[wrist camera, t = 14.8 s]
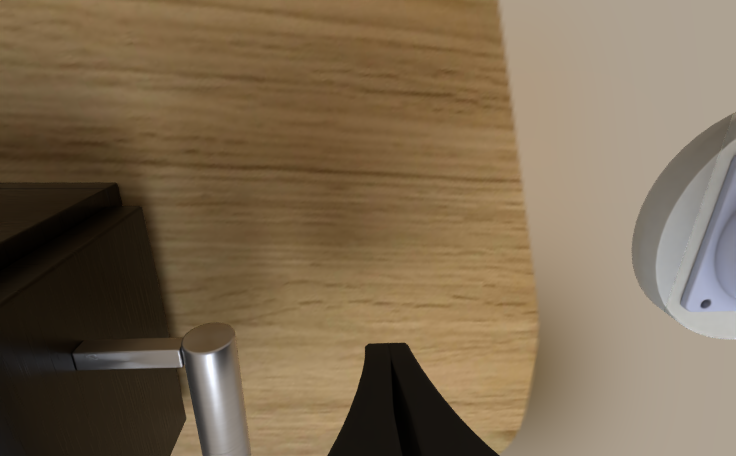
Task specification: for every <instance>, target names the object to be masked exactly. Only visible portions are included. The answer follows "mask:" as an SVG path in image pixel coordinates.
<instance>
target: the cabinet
mask: <svg viewBox="0 0 736 456" xmlns="http://www.w3.org/2000/svg"><path fill="white" fill-rule="evenodd" d="M109 206H122V201H121V197H120V193H119V188H118V184H117V183H0V271H1V270H3V269H5V268H7V267H8V266H10V265H12V264H13V263H15V262H17V261H18V260H20V259H22V258H23V257H25V256H27V255H28V254H30V253H32V252H33V251H35V250H37V249H38V248H40V247H42V246H43V245H45V244H47V243H48V242H50V241H52V240H53V239H55V238H57V237H59V236H60V235H62V234H64V233H65V232H67V231H69V230H70V229H72V228H74V227H75V226H77V225H79V224H80V223H82V222H84V221H85V220H87V219H89V218H90V217H92V216H94V215H95V214H97V213H99V212H100V211H102V210H104V209H105V208H107V207H109Z"/></svg>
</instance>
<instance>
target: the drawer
mask: <svg viewBox="0 0 736 456" xmlns="http://www.w3.org/2000/svg"><path fill="white" fill-rule="evenodd" d="M184 364H185V368H186V373H187V379H188V384H189V389H190V394H191V399H192V404H193V409H194V414H195V419H196V424H197V429H198V434H199V439H200V444H201V450H202V455H203V456H251V449H250V442H249V434H248V426H247V419H246V411H245V404H244V396H243V389H242V381H241V373H240V366H239V358H238V351H237V343H236V336H235V331H234V329H233V328H232V327H231V326H230V325H228V324H225V323H208V324H204V325H200V326H198V327H196V328H194V329H192V330H190V331H189V332H188V333H187V334H186V335H185V336H184V337H178V338H169V333H168V328H167V324H166V319H165V314H164V309H163V304H162V300H161V295H160V290H159V285H158V280H157V276H156V271H155V266H154V261H153V256H152V252H151V247H150V242H149V237H148V232H147V228H146V223H145V218H144V213H143V209H142V207H141V206H109V207H107V208H105V209H104V210H102V211H100V212H99V213H97V214H95V215H94V216H92V217H90V218H89V219H87V220H85V221H84V222H82V223H80V224H79V225H77V226H75V227H74V228H72V229H70V230H69V231H67V232H65V233H64V234H62V235H60V236H59V237H57V238H55V239H53V240H52V241H50V242H48V243H47V244H45V245H43V246H42V247H40V248H38V249H37V250H35V251H33V252H32V253H30V254H28V255H27V256H25V257H23V258H22V259H20V260H18V261H17V262H15V263H13V264H12V265H10V266H8V267H7V268H5V269H3V270H1V271H0V456H170V455H171V453H172V450H173V448H174V446H175V444H176V441H177V439H178V437H179V434H180V432H181V430H182V428H183V425H184V423H185V421H186V415H185V410H184V405H183V400H182V395H181V391H180V386H179V381H178V376H177V371H176V368H180V367H183V365H184Z"/></svg>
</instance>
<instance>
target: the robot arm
mask: <svg viewBox="0 0 736 456" xmlns="http://www.w3.org/2000/svg"><path fill="white" fill-rule="evenodd" d="M702 301H703V302H702ZM681 306H682V307H683V308H684V309H686V310H687V311H689V312H717V311H736V155H735V156H734V158H733V160H732V162H731V165H730V167H729V170H728V173H727V176H726V178H725V181H724V184H723V187H722V189H721V192H720V195H719V198H718V200H717V203H716V206H715V208H714V211H713V214H712V217H711V219H710V222H709V225H708V228H707V230H706V233H705V236H704V239H703V241H702V244H701V247H700V250H699V252H698V255H697V258H696V260H695V263H694V266H693V269H692V271H691V274H690V277H689V280H688V282H687V285H686V288H685V291H684V293H683V296H682V299H681ZM327 456H499V455H498V454H497V453H496V452H495V451H494V450H492V449H491V448H490V447H489V446H488V445H487V444H486V443H485V442H484V441H482V440H481V439H480V438H479V437H478V436H477V435H476V434H475V433H474V432H473V431H472V430H471V429H470V428H469V427H468V426H467V425H466V424H465V423H464V421H463V420H462V419H461V418H460V417H459V416H458V415H457V414H456V413H455V411H454V410H453V409H452V408H451V407H450V406H449V404H448V403H447V402H446V401H445V399H444V398H443V397H442V396H441V394H440V393H439V392H438V391H437V389H436V388H435V386H434V385H433V384H432V382H431V381H430V380H429V378H428V377H427V375H426V374H425V372H424V371H423V369H422V368H421V366H420V365H419V363H418V362H417V360H416V359H415V357H414V355H413V353H412V352H411V350H410V348H409V346H408V345H407V344H406V343H377V344H368V345H367V346H365V361H364V366H363V371H362V375H361V379H360V382H359V385H358V389H357V392H356V395H355V397H354V400H353V403H352V405H351V408H350V411H349V413H348V415H347V418H346V420H345V422H344V425H343V427H342V429H341V431H340V433H339V435H338V437H337V439H336V441H335V443H334V444H333V446H332V448H331V450H330V452H329V454H328V455H327Z"/></svg>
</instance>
